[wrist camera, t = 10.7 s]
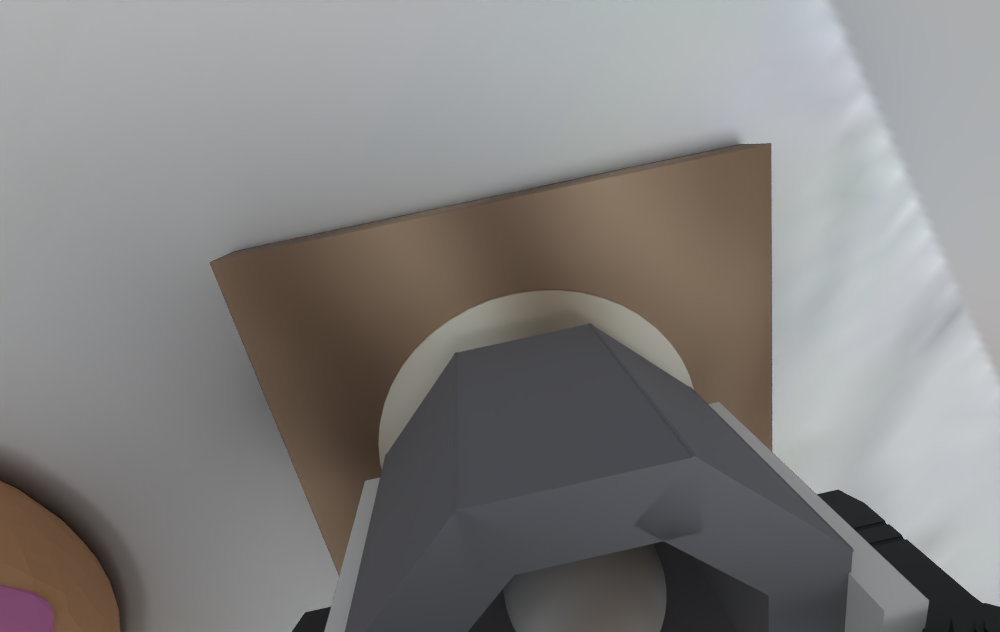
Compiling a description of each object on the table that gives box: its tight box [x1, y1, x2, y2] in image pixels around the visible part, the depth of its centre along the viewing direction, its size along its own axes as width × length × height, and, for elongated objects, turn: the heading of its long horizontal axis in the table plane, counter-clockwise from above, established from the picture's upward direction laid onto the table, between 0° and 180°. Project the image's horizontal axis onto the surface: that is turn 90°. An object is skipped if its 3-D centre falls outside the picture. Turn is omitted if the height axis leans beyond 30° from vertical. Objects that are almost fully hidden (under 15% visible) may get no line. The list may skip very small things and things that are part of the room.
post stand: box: [210, 143, 772, 632], centre depth 13 cm, size 16×16×9 cm
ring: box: [345, 323, 854, 632], centre depth 12 cm, size 9×9×6 cm
